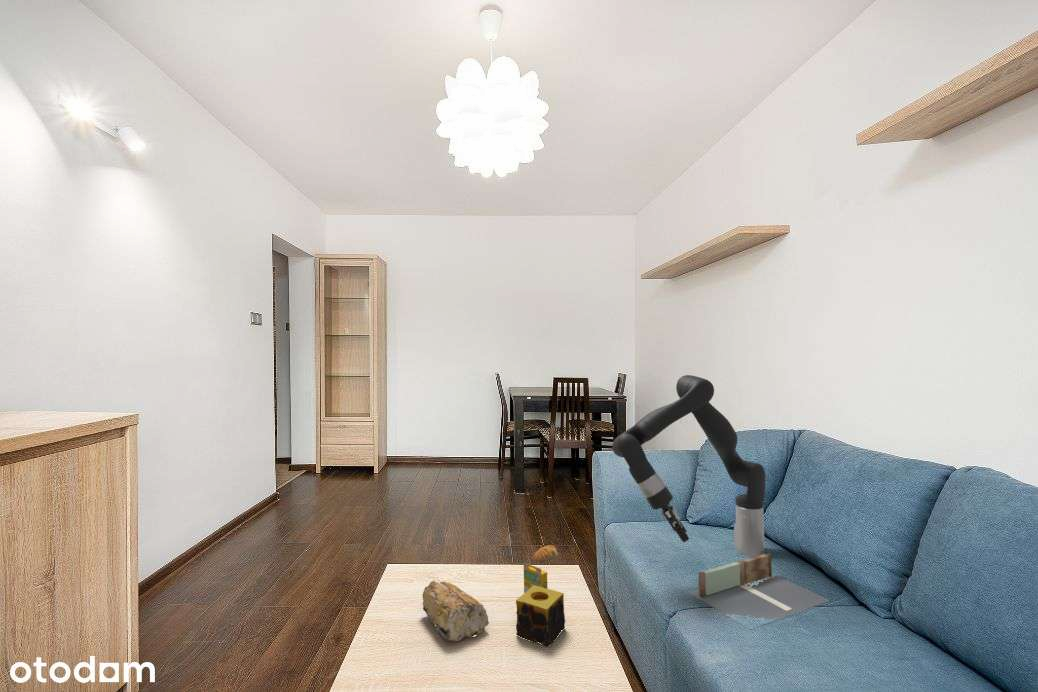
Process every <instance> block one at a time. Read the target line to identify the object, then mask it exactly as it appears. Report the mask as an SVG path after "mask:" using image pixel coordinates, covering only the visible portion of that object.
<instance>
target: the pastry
mask: <svg viewBox="0 0 1038 692" xmlns="http://www.w3.org/2000/svg"><path fill="white" fill-rule="evenodd" d="M558 556H559V553H558V551H557V549H556V547H555V546H554V545H553V544H552V545H551V544H550V545H549V544H548V545H547V546H543V547H540V548H539V549H538V550H537V551H535V552H534V553H533V554H532V560H533V561H534V562H535V561H536V562H538V563H542V562H549V561H551V560H555V559H557V558H558Z"/></svg>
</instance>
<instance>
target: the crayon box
mask: <svg viewBox="0 0 1038 692" xmlns="http://www.w3.org/2000/svg"><path fill="white" fill-rule="evenodd" d="M533 585H535V586H539V587H543V588H546V589H549V588H548V572H547V571H545V570H542V568H539V567H537V566H534V565H531V564H529V563H526V562H523V594H524V593H525V592H526V591H528V590H529V589H530V588H531V587H532V586H533Z"/></svg>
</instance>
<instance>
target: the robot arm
mask: <svg viewBox="0 0 1038 692" xmlns="http://www.w3.org/2000/svg"><path fill="white" fill-rule="evenodd" d="M675 387H676V389H675V391H676V394H677V396H678V397H679V399H677V400H675V401H673V402H671V403H668V404H667V405H666V404H665V405H664V406H661V407H658V408H656V409H654V410H652V411H651V412H649V413H647V414H646V415H645V416H643V417H642V418H641V419H639V420H638V421H637V422H636V423H635V424H634V425H633V426H631V427H630V428H628V429H627V430H625V431H624V432H621V434H619V435H618V436H617V437H616V438H614V440H613V441H612V447H611V448H612V451H613V453H614V454H615V456H618V457H620V458H624V461H625V462H626V463H627V465H628V467H629V468H628V470H629V473H630V475H631V476H632V478H633V480H634V481H635V483H636V484H637V486H638V488H639V490H640V492H641V494H642V495H643V497H644V498H645V500H646V502H648V504H649V505H650V507H651V510H655V511H656V510H659V509H661V510H662V511H661V515H662V516H663V518H664V519H665V520H666V521H667V523H668V525H669V526H670V527H671V528H672V530H673V531H674V532H676V535H678V537H679V538H680V540H681V541H682V542H683V543H685V542H688V541H689V540H690V537H689V536H688V534H687V528H685V526H684V524H683V523H682V521H681V518H680V517H679V514H678V512H677V511H676V509H675V507H674V505H671V502H672V501H673V499H674V496H673V494H672V493H671V491H670V490H669V489H668V487H667V485H666V484H665V483H664V481H663V480H662V478H661V477H660V475H659V474H658V473H657V472H656V470H655V469H654V468H653V465H652V464H651V463H650V461H649V460H648V458H647V456H646V453H645V450H644V449H643V447H642V446H643V445H644V444H645V443H647V442H649V441H651V440H653V439H654V438H655V437H657V435H659V434H660V433H661V432H662V431H664V430H666V429H667V428H668V427H669V426H671V425H672V424H673V423H675V422H677V421H679V420H681V419H682V418H684V417H686V416H687V415H689V414H692V415H693V416H694V418H695V420H696V422H697V423H698V425H699V426H700V428H701V429H702V431H703V433H704V434H705V436H706V437H707V439H708V441H709V443H710V444H711V445H712V447H713V448H714V449H715V451H716V453H717V454H718V456H719V459H720V460H721V461H722V463H723V466H724V468H725V469H726V472H727V474H728V476H729V478H730V479H731V480H732V481H733V482H732V481H731V482H732V483H734V484H736V485H738V486H742V487H745V488H747V489H746V493H742V494H738V495H737V496H735V501H734V502H735V523H734V524H733V544H734V545H733V546H734V550H736V552H737V553H739V554H740V555H742V556H745V557H749V556H750V557H749V558H752V557H756V556H759V555H763V554H765V524H764V523H765V522H764V520H765V519H764V502H765V498H766V497H765V496H766V472H765V471H766V470H765V468H764V466H763V465H762V464H761V463H759V462H754V461H750V460H745V459H743V458H741V456H740V454H739V453H738V452H737V450H736V449H737V445H738V435H737V432H736V430H735V429H734V427H733V426H732V424H731V423H730V421H729V420H728V418H727V417H725V415H724V414H723V413H722V412H721V411H720V410H718V409H717V408H716V407H715V406H714V405H712V404H711V403H710V401H711V400H712V399H713V397H714V394H715V387H714V385H713V383H712V382H711V381H710V380H708V379H706V378H703V377H700V376H695V375H691V374H689V375H688V374H685V375H683V376H680V377H679V379H678V380H677V382H676V386H675Z"/></svg>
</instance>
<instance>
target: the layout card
mask: <svg viewBox="0 0 1038 692" xmlns="http://www.w3.org/2000/svg"><path fill="white" fill-rule="evenodd" d="M774 575H775V574H774ZM774 575H772V577H767V578H764V579H761V580H763V582H759V584H758V585H757V586H756V585H753V586H752V587H750V585H749V584H744V585H738V586H735V587H732V588H729V589H725V590H722V591H719V592H716V593H713V594H709V595H706V596H705V597H702V596H700V595H699V588H696V589H693V590H690V591H688V593H689V594H690V595H692V596H693V597H695V598H697V599H699V600H700V601H701V602H703V603H705V604H707V605H708V606H710V607H711V608H713V609H714V610H716V611H718V612H720V613H721V614H723V615H725V616H726V614H729V615H732V614H735V615H742V616H743V617H744V616H747V615H751V616H750V617H752V618H761V617H765V618H764V619H774V618H776V617H777V618H776V619H778V618H782V619H784V618H783V617H785V618H787V617H789V616H793V615H796V614H797V613H801V612H803V611H805V610H808V609H811V608H814V607H817V606H820V605H822V604H825V603H829V602H830V601H831V600H830V599H828V598H826V597H824V596H822V595H819V594H817V593H816V592H813V591H810V590H809V589H806V588H804V587H802V586H800V585H798V584H796V583H793V582H791V581H790V580H787V579H785V578H783V577H781V576H778V575H776V576H774ZM765 579H767V580H765ZM761 580H760V581H761ZM756 582H758V581H756ZM752 583H755V582H751V583H750V584H752ZM754 587H755V588H754ZM753 616H754V617H753ZM744 618H745V619H746V618H747V617H744ZM776 619H775V620H776ZM776 621H777V620H776Z"/></svg>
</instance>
